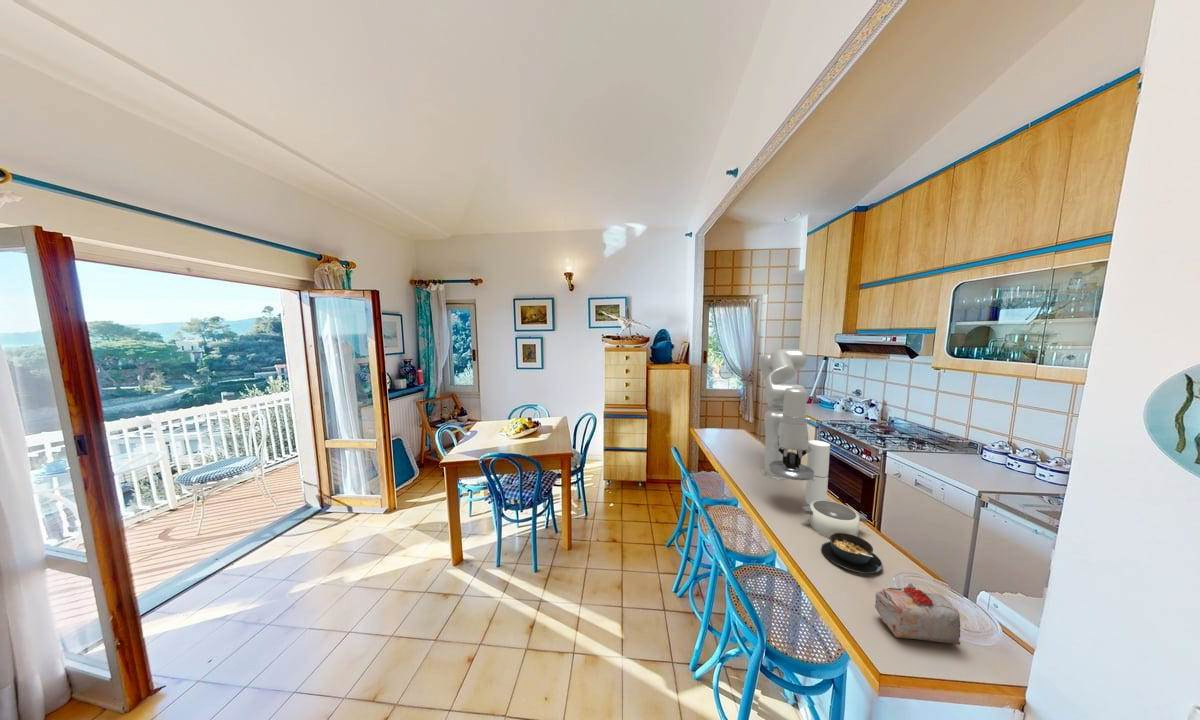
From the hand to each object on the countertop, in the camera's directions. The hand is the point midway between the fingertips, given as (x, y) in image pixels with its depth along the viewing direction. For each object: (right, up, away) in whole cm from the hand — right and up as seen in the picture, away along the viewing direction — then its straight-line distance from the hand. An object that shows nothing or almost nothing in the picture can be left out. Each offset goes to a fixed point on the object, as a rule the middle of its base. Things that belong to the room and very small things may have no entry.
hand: (791, 465), depth 129 cm
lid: (0, -2, 0) cm, 2 cm away
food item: (-1, -22, -52) cm, 57 cm away
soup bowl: (+1, -20, -29) cm, 35 cm away
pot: (+7, -18, -13) cm, 23 cm away
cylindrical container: (+12, -17, +4) cm, 21 cm away
